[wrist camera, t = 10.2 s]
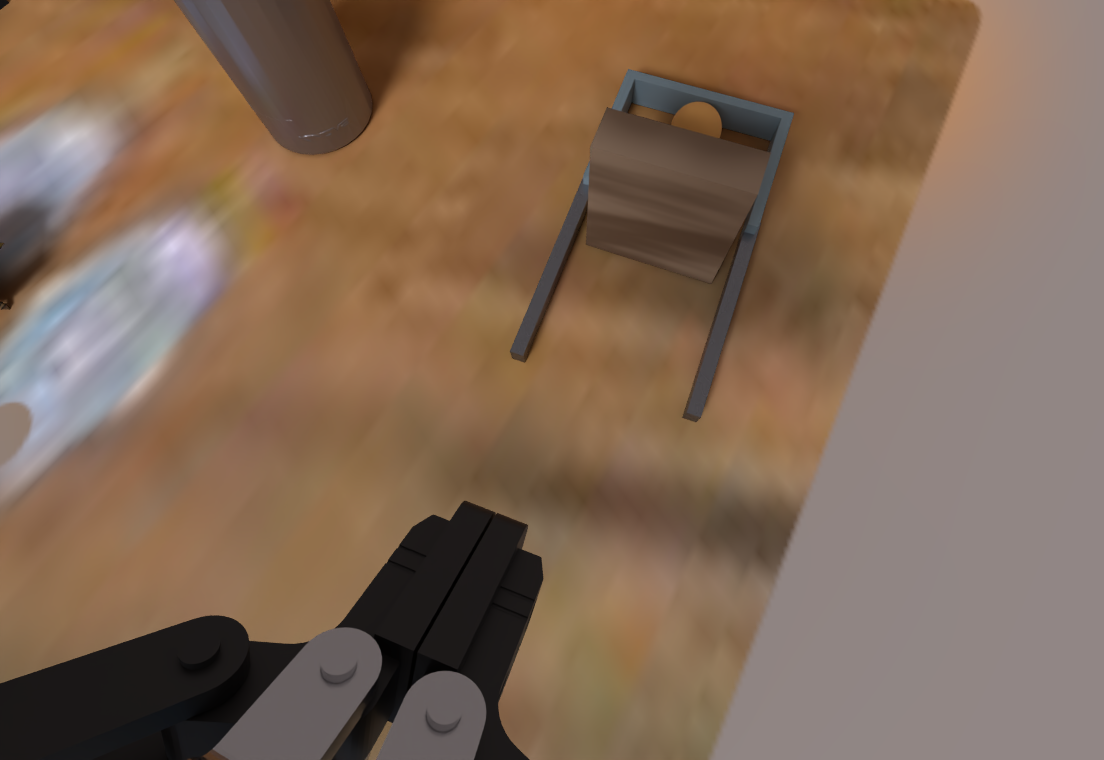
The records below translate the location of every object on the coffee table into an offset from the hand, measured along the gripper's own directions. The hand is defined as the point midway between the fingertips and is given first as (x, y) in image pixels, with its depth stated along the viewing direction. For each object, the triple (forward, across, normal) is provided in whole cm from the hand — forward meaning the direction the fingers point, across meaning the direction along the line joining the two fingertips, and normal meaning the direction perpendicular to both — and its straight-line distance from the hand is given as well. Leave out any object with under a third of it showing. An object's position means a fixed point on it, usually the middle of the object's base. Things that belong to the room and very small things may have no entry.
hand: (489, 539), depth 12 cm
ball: (+41, 0, -7) cm, 41 cm away
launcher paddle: (+35, 0, +2) cm, 35 cm away
